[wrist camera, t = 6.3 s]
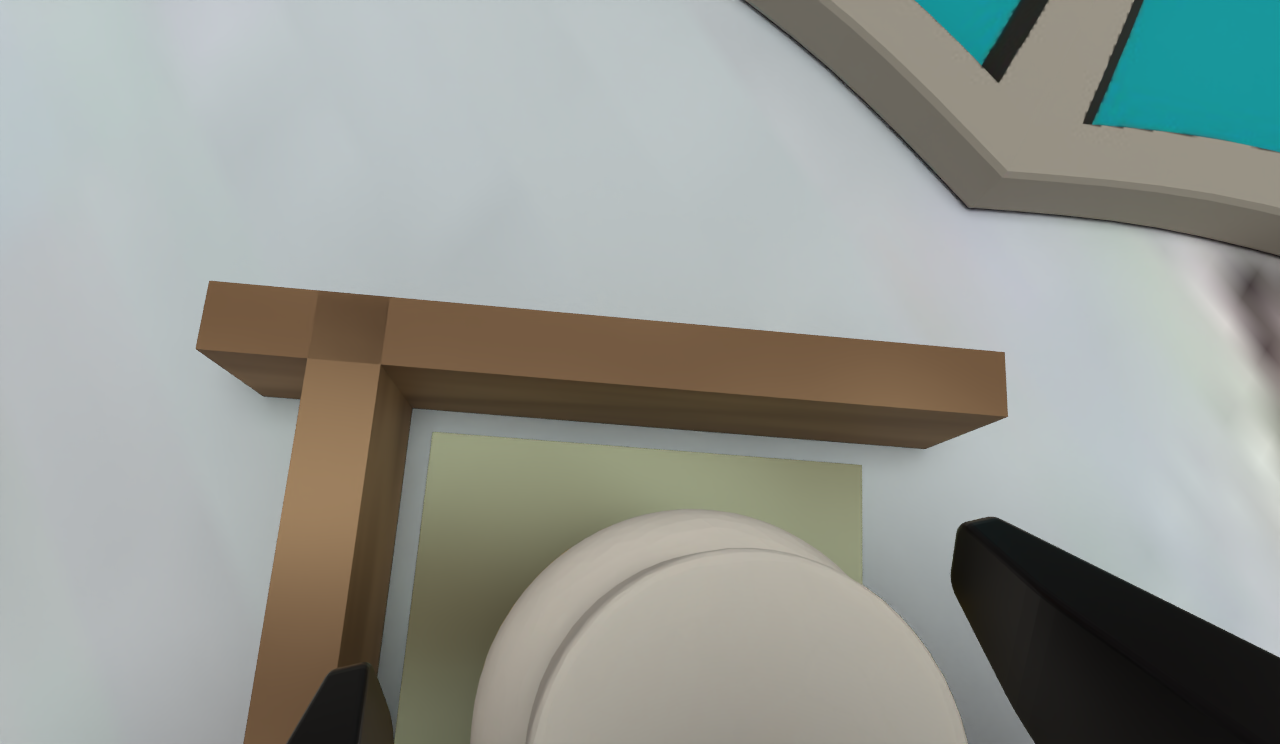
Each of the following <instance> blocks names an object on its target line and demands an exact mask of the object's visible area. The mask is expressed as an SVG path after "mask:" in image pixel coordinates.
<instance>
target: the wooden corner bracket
mask: <svg viewBox="0 0 1280 744" xmlns="http://www.w3.org/2000/svg"><path fill="white" fill-rule="evenodd" d="M196 350H198V351H199V352H201V353H202V354H204V355H205V356H206V357H208V358H209V359H211V360H212V361H214V362H215V363H216V364H218V365H219V366H221V367H222V368H224V369H225V370H226V371H228V372H229V373H231V374H232V375H234V376H235V377H236V378H238V379H239V380H241V381H242V382H244V383H245V384H246V385H248V386H249V387H251V388H252V389H254V390H255V391H256V392H258V393H259V394H261V395H262V396H267V397H280V398H292V399H301V400H300V406H299V412H298V418H297V424H296V430H295V436H294V442H293V448H292V454H291V460H290V466H289V472H288V478H287V484H286V490H285V496H284V502H283V508H282V514H281V520H280V526H279V532H278V538H277V544H276V550H275V557H274V563H273V569H272V575H271V581H270V587H269V593H268V599H267V605H266V611H265V617H264V623H263V629H262V635H261V641H260V647H259V653H258V659H257V665H256V671H255V677H254V683H253V689H252V695H251V701H250V707H249V713H248V719H247V725H246V731H245V738H244V744H286V743H287V741H288V739H289V738H290V736H291V734H292V733H293V731H294V729H295V727H296V726H297V724H298V722H299V721H300V719H301V717H302V716H303V714H304V712H305V711H306V709H307V707H308V705H309V704H310V702H311V700H312V699H313V697H314V695H315V694H316V692H317V690H318V689H319V687H320V685H321V683H322V682H323V680H324V678H325V677H326V675H327V674H328V673H329V672H330V671H331V670H333V669H335V668H339V667H344V666H348V665H352V664H357V663H361V662H368V663H370V664H371V665H372V666H373V668H374V670H375V672H376V675H377V673H378V666H379V658H380V651H381V643H382V635H383V628H384V620H385V612H386V605H387V597H388V590H389V582H390V574H391V567H392V559H393V552H394V544H395V536H396V529H397V521H398V513H399V506H400V498H401V491H402V483H403V475H404V468H405V460H406V452H407V445H408V437H409V430H410V422H411V414H412V408H418V409H431V410H443V411H456V412H468V413H481V414H493V415H506V416H519V417H531V418H544V419H556V420H569V421H581V422H594V423H606V424H619V425H632V426H644V427H657V428H669V429H682V430H694V431H707V432H720V433H732V434H745V435H757V436H770V437H782V438H795V439H807V440H820V441H833V442H845V443H858V444H870V445H883V446H895V447H908V448H921V449H926V448H929V447H932V446H934V445H937V444H939V443H942V442H944V441H947V440H950V439H952V438H955V437H957V436H960V435H962V434H965V433H967V432H970V431H973V430H975V429H978V428H980V427H983V426H985V425H988V424H991V423H993V422H996V421H998V420H1001V419H1003V418H1006V417H1008V411H1007V391H1006V371H1005V352H996V351H984V350H973V349H962V348H951V347H940V346H929V345H918V344H907V343H895V342H884V341H873V340H862V339H851V338H840V337H829V336H818V335H806V334H795V333H784V332H773V331H762V330H751V329H740V328H729V327H718V326H706V325H695V324H684V323H673V322H662V321H651V320H640V319H629V318H617V317H606V316H595V315H584V314H573V313H562V312H551V311H540V310H528V309H517V308H506V307H495V306H484V305H473V304H462V303H451V302H440V301H428V300H417V299H406V298H395V297H384V296H373V295H362V294H351V293H339V292H328V291H317V290H306V289H295V288H284V287H273V286H262V285H250V284H239V283H228V282H217V281H209V285H208V290H207V295H206V300H205V305H204V310H203V315H202V320H201V324H200V329H199V334H198V339H197V344H196ZM678 509H703V510H715V511H723V512H730V513H736V514H740V515H744V516H748V517H751V518H754V519H757V520H761V521H764V522H766V523H769V524H772V525H774V526H776V527H778V528H780V529H783V530H785V531H787V532H789V533H791V534H792V535H794V536H796V537H798V538H800V539H802V540H803V541H805V542H806V543H808V544H810V545H811V546H813V547H814V548H816V549H817V550H819V551H820V552H821V553H823V554H824V555H825V556H826V557H828V558H829V559H830V560H831V561H833V562H834V563H835V564H836V565H837V566H838V567H839V568H840V569H841V570H842V571H843V572H845V573H846V574H847V575H848V576H849V577H850V578H852V579H853V580H855V581H857V582H858V583H860V584H861V585H862V465H853V464H840V463H827V462H815V461H802V460H789V459H776V458H763V457H750V456H737V455H724V454H711V453H698V452H685V451H673V450H660V449H647V448H634V447H621V446H608V445H595V444H582V443H569V442H556V441H543V440H531V439H518V438H505V437H492V436H479V435H466V434H453V433H440V432H433V433H432V441H431V449H430V457H429V465H428V473H427V481H426V489H425V497H424V505H423V513H422V521H421V529H420V537H419V545H418V553H417V562H416V570H415V578H414V586H413V594H412V602H411V610H410V618H409V626H408V634H407V642H406V650H405V658H404V666H403V674H402V682H401V690H400V698H399V706H398V715H397V723H396V731H395V739H394V744H470V738H471V725H472V717H473V710H474V702H475V698H476V693H477V689H478V684H479V679H480V676H481V674H482V670H483V667H484V663H485V660H486V657H487V654H488V652H489V649H490V647H491V645H492V643H493V641H494V639H495V636H496V634H497V632H498V630H499V628H500V626H501V625H502V623H503V621H504V620H505V618H506V616H507V615H508V613H509V612H510V610H511V608H512V607H513V605H514V604H515V603H516V601H517V600H518V599H519V597H520V596H521V595H522V593H523V592H524V591H525V589H526V588H527V587H528V586H529V585H530V584H531V583H532V582H533V580H534V579H535V578H536V577H537V576H538V575H539V574H540V573H541V572H542V571H543V570H544V569H545V568H546V567H547V566H548V565H550V564H551V563H552V562H553V561H554V560H555V559H557V558H558V557H559V556H560V555H561V554H563V553H564V552H565V551H567V550H568V549H570V548H571V547H573V546H574V545H576V544H578V543H579V542H581V541H582V540H584V539H585V538H587V537H589V536H591V535H593V534H594V533H596V532H598V531H599V530H602V529H604V528H606V527H609V526H611V525H613V524H616V523H619V522H622V521H624V520H627V519H630V518H633V517H637V516H640V515H644V514H649V513H655V512H660V511H668V510H678Z"/></svg>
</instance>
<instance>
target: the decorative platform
mask: <svg viewBox="0 0 1280 744" xmlns="http://www.w3.org/2000/svg"><path fill="white" fill-rule="evenodd" d="M745 1H746V2H748V3H749V4H750V5H752V6H753V7H754V8H756V9H757V10H758V11H760V12H761V13H762V14H763V15H765V16H766V17H767V18H768V19H770V20H771V21H772V22H774V23H775V24H776V25H777V26H779V27H780V28H781V29H783V30H784V31H785V32H786V33H788V34H789V35H790V36H791V37H793V38H794V39H795V40H796V41H798V42H799V43H800V44H801V45H802V46H803V47H805V48H806V49H807V50H808V51H809V52H811V53H812V54H813V55H814V56H815V57H817V58H818V59H819V60H820V61H821V62H823V63H824V64H825V65H826V66H827V67H828V68H830V69H831V70H832V71H833V72H834V73H835V74H836V75H837V76H838V77H839V78H840V79H842V80H843V81H844V82H845V83H846V84H847V85H848V86H849V87H850V88H851V89H852V90H853V91H855V92H856V93H857V94H858V95H859V96H860V97H861V98H862V99H863V100H864V101H865V102H866V103H867V104H868V105H869V106H870V107H871V108H872V109H873V110H874V111H875V112H877V113H878V114H879V115H880V116H881V117H882V118H883V119H884V120H885V121H886V122H887V123H888V124H889V125H890V126H891V127H892V128H893V129H894V130H895V131H896V132H897V133H898V134H899V135H900V136H901V137H902V138H903V139H904V140H905V141H906V143H907V144H908V145H909V146H910V147H911V148H912V149H913V150H914V151H915V152H916V153H917V154H918V155H919V156H920V157H921V158H922V159H923V160H924V161H925V162H926V163H927V164H928V165H929V166H930V167H931V168H932V169H933V170H934V172H935V173H936V174H937V175H938V176H939V177H940V178H941V179H942V180H943V181H944V182H945V183H946V184H947V185H948V186H949V187H950V188H951V190H952V191H953V192H954V193H955V194H956V195H957V196H958V197H959V198H960V199H961V200H962V201H963V202H964V203H965V204H966V205H967V207H969V208H982V209H995V210H1009V211H1021V212H1033V213H1044V214H1056V215H1066V216H1075V217H1084V218H1093V219H1102V220H1111V221H1117V222H1124V223H1131V224H1137V225H1144V226H1150V227H1157V228H1162V229H1167V230H1172V231H1177V232H1182V233H1187V234H1192V235H1197V236H1202V237H1206V238H1210V239H1215V240H1219V241H1223V242H1227V243H1231V244H1235V245H1240V246H1244V247H1248V248H1252V249H1256V250H1259V251H1263V252H1267V253H1271V254H1275V255H1278V256H1280V0H745Z"/></svg>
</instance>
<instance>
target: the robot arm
mask: <svg viewBox="0 0 1280 744" xmlns="http://www.w3.org/2000/svg"><path fill="white" fill-rule="evenodd" d="M951 583H952V587H953V590H954V593H955V595H956V598H957V599H958V601H959V603H960V605H961V607H962V609H963V611H964V613H965V615H966V617H967V619H968V621H969V623H970V625H971V627H972V629H973V631H974V633H975V635H976V637H977V639H978V641H979V643H980V645H981V647H982V649H983V651H984V653H985V655H986V657H987V659H988V660H989V662H990V664H991V666H992V668H993V670H994V672H995V674H996V676H997V678H998V680H999V682H1000V684H1001V686H1002V688H1003V690H1004V692H1005V694H1006V696H1007V697H1008V699H1009V701H1010V703H1011V705H1012V707H1013V708H1014V710H1015V712H1016V714H1017V715H1018V717H1019V719H1020V720H1021V722H1022V723H1023V725H1024V727H1025V728H1026V730H1027V732H1028V733H1029V735H1030V736H1031V738H1032V739H1033V741H1034V742H1035V744H1280V657H1277V656H1275V655H1273V654H1271V653H1269V652H1267V651H1265V650H1263V649H1261V648H1259V647H1257V646H1255V645H1253V644H1251V643H1249V642H1247V641H1245V640H1243V639H1241V638H1239V637H1237V636H1235V635H1233V634H1231V633H1229V632H1227V631H1225V630H1223V629H1221V628H1219V627H1217V626H1215V625H1213V624H1211V623H1209V622H1207V621H1205V620H1203V619H1201V618H1199V617H1197V616H1195V615H1193V614H1191V613H1189V612H1187V611H1185V610H1183V609H1181V608H1179V607H1177V606H1175V605H1173V604H1171V603H1169V602H1167V601H1165V600H1163V599H1161V598H1159V597H1157V596H1155V595H1153V594H1151V593H1149V592H1147V591H1145V590H1143V589H1141V588H1139V587H1137V586H1135V585H1132V584H1130V583H1128V582H1126V581H1124V580H1122V579H1120V578H1118V577H1116V576H1114V575H1112V574H1110V573H1108V572H1106V571H1104V570H1102V569H1100V568H1098V567H1096V566H1094V565H1092V564H1090V563H1088V562H1086V561H1084V560H1082V559H1080V558H1078V557H1076V556H1074V555H1072V554H1070V553H1068V552H1066V551H1064V550H1062V549H1060V548H1058V547H1056V546H1054V545H1052V544H1050V543H1048V542H1046V541H1044V540H1042V539H1040V538H1038V537H1036V536H1034V535H1032V534H1030V533H1028V532H1026V531H1024V530H1022V529H1020V528H1018V527H1016V526H1014V525H1012V524H1010V523H1008V522H1006V521H1004V520H1001V519H999V518H996V517H985V518H981V519H977V520H973V521H968V522H964V523H962V524H961V525H960V526H959V528H958V529H957V533H956V539H955V546H954V553H953V560H952V567H951ZM286 744H394V738H393V727H392V720H391V716H390V711H389V708H388V706H387V703H386V700H385V697H384V694H383V692H382V689H381V686H380V683H379V681H378V678H377V675H376V672H375V670H374V668H373V666H372V665H371V664H370V663H368V662H361V663H357V664H352V665H348V666H344V667H339V668H335V669H333V670H331V671H330V672H329V673H328V674H327V675H326V677H325V678H324V680H323V682H322V683H321V685H320V687H319V689H318V690H317V692H316V694H315V695H314V697H313V699H312V700H311V702H310V704H309V705H308V707H307V709H306V711H305V712H304V714H303V716H302V717H301V719H300V721H299V722H298V724H297V726H296V727H295V729H294V731H293V733H292V734H291V736H290V738H289V739H288V741H287V743H286Z"/></svg>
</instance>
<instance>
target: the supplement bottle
mask: <svg viewBox="0 0 1280 744" xmlns="http://www.w3.org/2000/svg"><path fill="white" fill-rule="evenodd" d="M470 744H968V742H967V738H966V734H965V730H964V727H963V723H962V720H961V716H960V714H959V711H958V709H957V706H956V704H955V701H954V698H953V696H952V693H951V691H950V689H949V687H948V684H947V682H946V680H945V677H944V676H943V674H942V672H941V671H940V669H939V668H938V666H937V664H936V663H935V661H934V659H933V658H932V656H931V654H930V652H929V651H928V650H927V648H926V647H925V646H924V644H923V643H922V641H921V640H920V639H919V637H918V636H917V635H916V633H915V632H914V631H913V630H912V629H911V628H910V627H909V625H908V624H907V623H906V622H905V621H904V620H903V619H902V618H901V617H900V616H899V615H898V614H897V613H896V612H895V611H894V610H893V609H892V608H891V607H890V606H889V605H888V604H887V603H886V602H885V601H884V600H882V599H881V598H880V597H878V596H877V595H876V594H874V593H873V592H872V591H870V590H869V589H868V588H866V587H865V586H863V585H861V584H860V583H858V582H857V581H855V580H853V579H852V578H850V577H849V576H848V575H847V574H846V573H845V572H843V571H842V570H841V569H840V568H839V567H838V566H837V565H836V564H835V563H834V562H833V561H831V560H830V559H829V558H828V557H826V556H825V555H824V554H823V553H821V552H820V551H819V550H817V549H816V548H814V547H813V546H811V545H810V544H808V543H806V542H805V541H803V540H802V539H800V538H798V537H796V536H794V535H792V534H791V533H789V532H787V531H785V530H783V529H780V528H778V527H776V526H774V525H772V524H769V523H766V522H764V521H761V520H757V519H754V518H751V517H748V516H744V515H740V514H736V513H730V512H723V511H715V510H703V509H678V510H668V511H660V512H655V513H649V514H644V515H640V516H637V517H633V518H630V519H627V520H624V521H622V522H619V523H616V524H613V525H611V526H609V527H606V528H604V529H602V530H599V531H598V532H596V533H594V534H593V535H591V536H589V537H587V538H585V539H584V540H582V541H581V542H579V543H578V544H576V545H574V546H573V547H571V548H570V549H568V550H567V551H565V552H564V553H563V554H561V555H560V556H559V557H558V558H557V559H555V560H554V561H553V562H552V563H551V564H550V565H548V566H547V567H546V568H545V569H544V570H543V571H542V572H541V573H540V574H539V575H538V576H537V577H536V578H535V579H534V580H533V582H532V583H531V584H530V585H529V586H528V587H527V588H526V589H525V591H524V592H523V593H522V595H521V596H520V597H519V599H518V600H517V601H516V603H515V604H514V605H513V607H512V608H511V610H510V612H509V613H508V615H507V616H506V618H505V620H504V621H503V623H502V625H501V626H500V628H499V630H498V632H497V634H496V636H495V639H494V641H493V643H492V645H491V647H490V649H489V652H488V654H487V657H486V660H485V663H484V667H483V670H482V674H481V676H480V679H479V684H478V689H477V693H476V698H475V702H474V710H473V717H472V725H471V738H470Z"/></svg>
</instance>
